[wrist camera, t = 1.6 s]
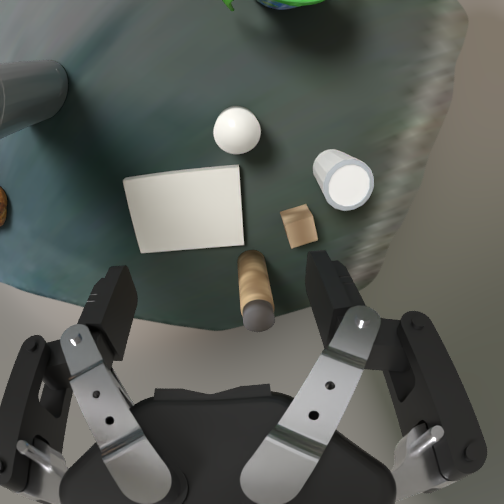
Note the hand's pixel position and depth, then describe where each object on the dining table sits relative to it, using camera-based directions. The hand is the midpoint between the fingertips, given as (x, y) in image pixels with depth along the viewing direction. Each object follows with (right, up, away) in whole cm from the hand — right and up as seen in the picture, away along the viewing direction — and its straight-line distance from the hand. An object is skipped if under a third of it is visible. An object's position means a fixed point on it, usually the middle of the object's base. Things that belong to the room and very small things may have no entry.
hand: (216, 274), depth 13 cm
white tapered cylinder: (+13, +13, +27) cm, 32 cm away
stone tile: (-8, +7, +28) cm, 30 cm away
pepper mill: (+1, -1, +34) cm, 34 cm away
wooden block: (+8, +6, +31) cm, 32 cm away
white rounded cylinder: (0, +17, +22) cm, 28 cm away
